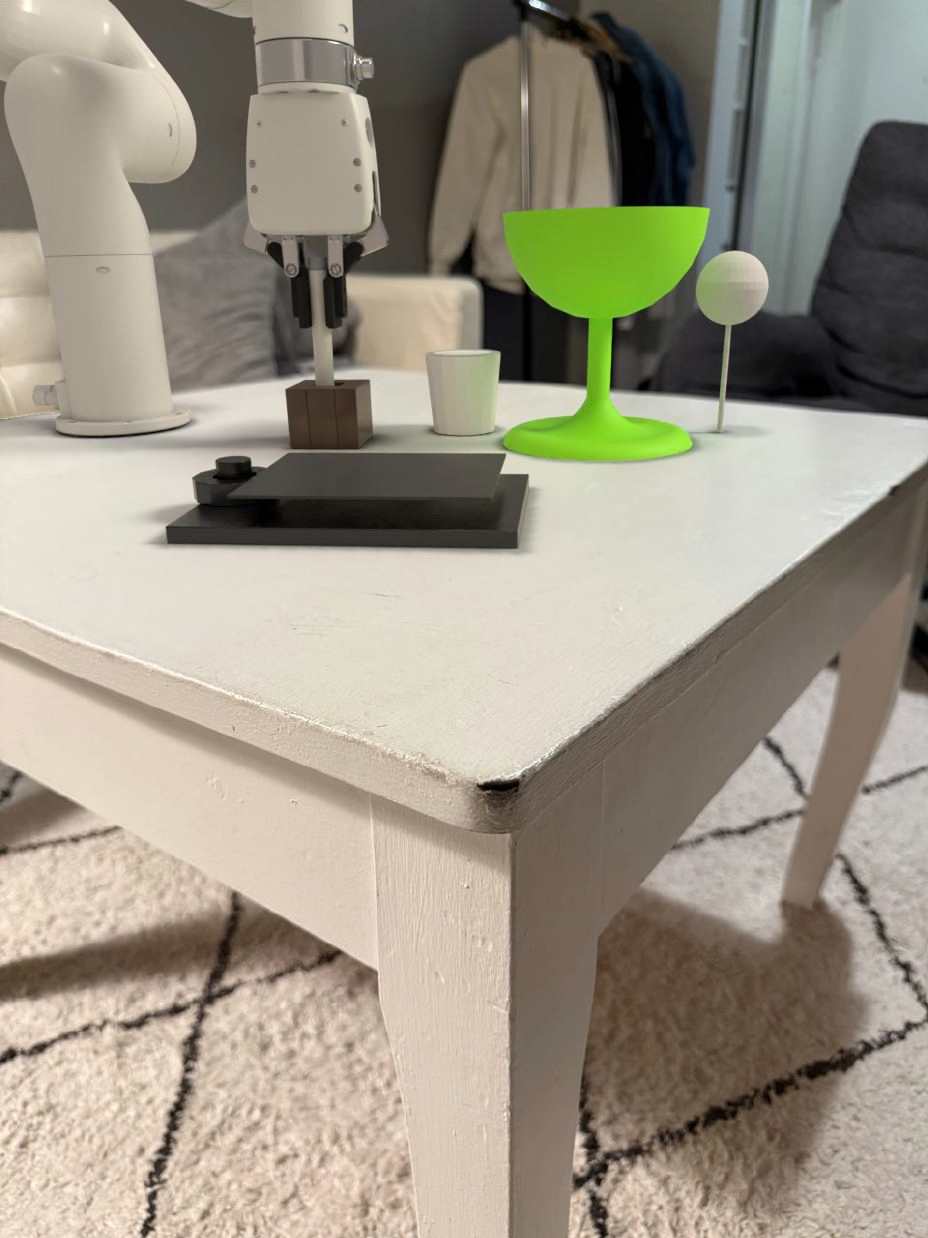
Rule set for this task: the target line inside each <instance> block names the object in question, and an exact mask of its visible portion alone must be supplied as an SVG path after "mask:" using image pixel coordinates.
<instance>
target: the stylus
mask: <svg viewBox="0 0 928 1238" xmlns="http://www.w3.org/2000/svg"><path fill="white" fill-rule="evenodd" d="M307 268H308V270H309V271H308V272H309V288H310V303H311V319H312V327H311V332H312V333H311V334H312V348H313V364H314V380H315V382H316V386H334V380H335V372H334V371H335V369H334V355H333V353H334V351H333V335H332V329H328V327H326V325H325V308H324V291H323V279H325V277H327V269H328V268H329V267H328V256H307Z"/></svg>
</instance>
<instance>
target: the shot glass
mask: <svg viewBox="0 0 928 1238" xmlns="http://www.w3.org/2000/svg"><path fill="white" fill-rule="evenodd" d="M424 355H425V362H426V363H425V364H426V365H425V366H426V372H427V373H426V374H427V380H428V389H429V397H430V405H431V414H432V423H433V430H434V432H435V433H437V434H440V435H445V436H446V435H447V436H475V435H477V436H478V435H484V434H489V433H493V432H494V431H495V426H496V413H497V401H498V391H499V390H498V389H499V378H500V377H499V376H500V365H501V355H502V353H501V351H498V350H494V349H488V348H487V349H486V348H451V349H440V350H434V351H429V352H426V353H425V354H424Z"/></svg>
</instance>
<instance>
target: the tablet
mask: <svg viewBox="0 0 928 1238" xmlns="http://www.w3.org/2000/svg"><path fill="white" fill-rule="evenodd" d="M266 468H267V467H266V466H265V467H264V466H259V465H257V466H256V465H252V472H253V477H254V476H256V475H257V474H258V473H260V472H261V471H263V470H264V469H266ZM253 477H249V478H245V479H237V480H218V479H217V473H216V468H212V469H209V470H205V471H200V472H199V473H197V474H195V475H194V476H192V477H191V483H192V488H193V496H194V497H193V498H194V500H195V502H197V505H195V506H194V507H193V508H191V509H190V510H188V511H187V512H185V513H184V514H182V515H181V516H179V517H178V518H176V519H175V520H174V521H172V522H171V523H169V524H168V525H166V526H165V533H166V534H165V535H166V542H167V544H171V545H172V544H174V545H175V544H177V545H179V544H180V545H181V544H182V545H236V546H237V545H238V546H239V545H240V546H241V545H243V546H244V545H245V546H309V547H311V546H313V547H314V546H315V547H373V548H374V547H377V548H379V547H380V548H383V547H384V548H439V549H441V548H445V549H451V548H452V549H456V548H457V549H458V548H459V549H509V550H511V549H513V550H515V549H518V548H519V543H520V539H521V533H522V527H523V523H524V517H525V511H526V506H527V501H528V496H529V490H530V474H529V473H500V476H499V479H498V482H497V485H496V488H495V491H494V495H493V498H492V501H450V500H342V499H233V498H228V496H227V495H228V494H230V493H231V492H233V491H234V490H236V489H237V488H238V487H240V486H241V485H243V484H244V483H246V482H247V481H248V480H250V479H251V478H253Z"/></svg>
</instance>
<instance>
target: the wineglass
mask: <svg viewBox="0 0 928 1238" xmlns="http://www.w3.org/2000/svg"><path fill="white" fill-rule="evenodd" d="M710 212H711V208H709V207H702V206H674V205H673V206H669V205H667V206H665V205H663V206H662V205H661V206H660V205H659V206H658V205H657V206H656V205H655V206H651V205H649V206H648V205H647V206H644V205H643V206H598V207H597V206H596V207H594V206H593V207H571V208H570V207H566V208H546V209H530V210H519V211H509V212H503V213H502V214H501V215H502V221H503V222H502V223H503V230H504V238H505V244H506V247H507V250H508V252H509V255H510V258H511V260H512V262H513V265H514V267H515V269H516V271H517V272H518V274H519V275H520V276H521V278H522V279H523V280H524V282H525V283H526V285H527V286H528V288H529V289H530V290H531V291H532V292H533V293H534V294H535V295H537V296H538V297H539V298H540V299H542V300H543V301H544V302H546V303H547V304H548V305H549V306H550V307H552V308H554V309H556V310H559V311H562V312H564V313H566V314H568V315H571V316H573V317H577V318H583V319H584V318H585V319H588V339H587V341H588V342H587V368H586V369H587V370H586V371H587V372H586V373H587V374H586V397H585V400H584V401H583V403H582V404H581V406H580V408H579V409H578V410H577V411H576V412H575V413H574V414H573V415H564V416H563V415H562V416H553V417H545V418H539V419H533V420H530V421H525V422H522V423H519V424H517V425H516V426H514V427H512V428H511V429H509V430H508V431H507V433H506V434H505V436H504V439H503V442H502V446H504V447H505V448H506V449H507V450H508V451H514V452H516V453H518V454H519V453H520V454H524V455H528V456H533V457H539V458H547V459H554V460H564V461H565V460H566V461H585V462H617V461H635V460H645V459H655V458H662V457H667V456H672V455H676V454H680V453H683V452H686V451H687V452H688V451H689V450H690V449H691V448H692V446H693V441H692V439H691V437H690V435H689V434H688V433H687V431H686V430H685V429H684V428H682V427H680V426H678V425H676V424H674V423H671V422H667V421H663V420H660V419H653V418H646V417H640V416H627V415H621V414H620V412H618V410H617V409H616V407H615V406H614V404H613V402H612V399H611V398H610V392H611V391H610V389H611V367H612V366H611V365H612V339H613V319H614V318H623V317H627V316H629V315H632V314H634V313H637V312H640V311H641V310H644V309H646V308H648V307H651V306H653V305H654V304H655V303H657V302H658V301H660V299H662V298H663V297H665V295H667V294H669V292H671V291H672V290H674V289H675V287H676V286H677V285H678V283H679V282H680V281H681V280H682V279H683V278H684V276H685V275H686V274H687V272H688V271H689V270H690V269H691V267H692V266H693V264H694V263H695V260H696V258H697V256H698V254H699V251H700V248H701V247H702V245H703V243H704V241H705V237H706V233H707V229H708V228H707V227H708V222H709V218H710Z"/></svg>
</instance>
